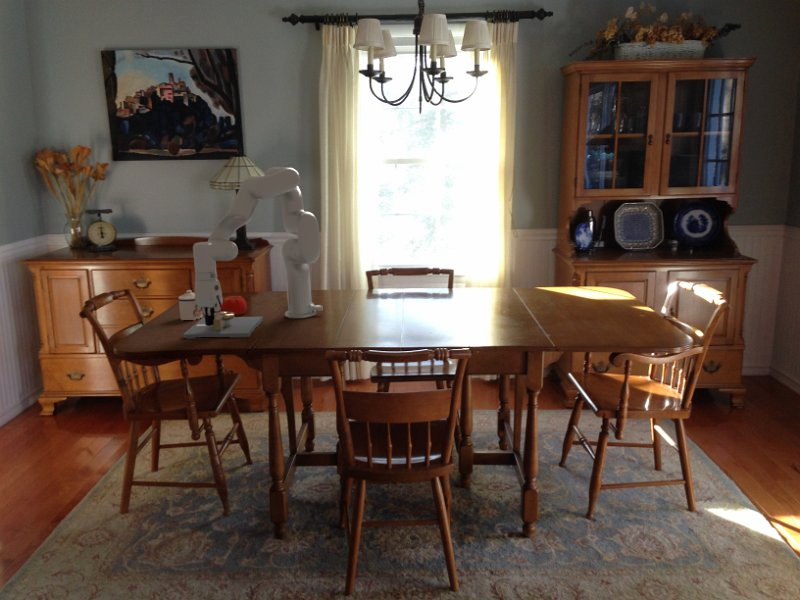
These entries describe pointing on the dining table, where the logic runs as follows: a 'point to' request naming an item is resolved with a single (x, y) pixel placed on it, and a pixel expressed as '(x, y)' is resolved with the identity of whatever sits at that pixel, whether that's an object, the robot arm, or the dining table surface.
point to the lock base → (225, 328)
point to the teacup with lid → (189, 307)
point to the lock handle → (222, 319)
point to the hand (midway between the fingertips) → (210, 324)
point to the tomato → (234, 305)
